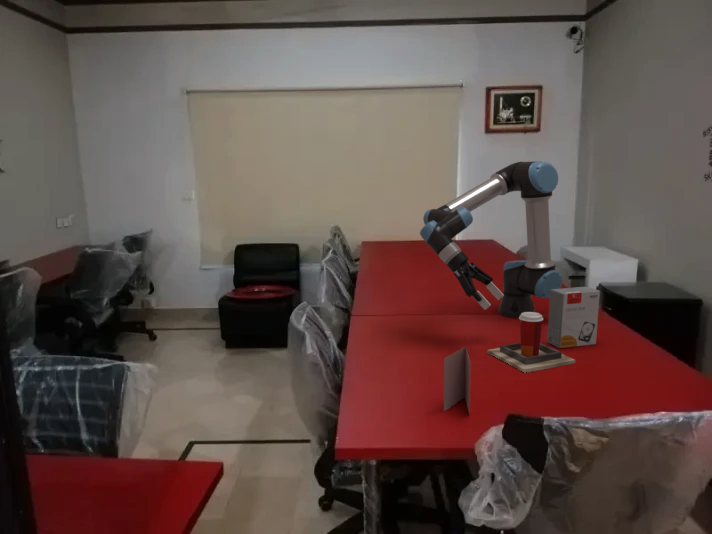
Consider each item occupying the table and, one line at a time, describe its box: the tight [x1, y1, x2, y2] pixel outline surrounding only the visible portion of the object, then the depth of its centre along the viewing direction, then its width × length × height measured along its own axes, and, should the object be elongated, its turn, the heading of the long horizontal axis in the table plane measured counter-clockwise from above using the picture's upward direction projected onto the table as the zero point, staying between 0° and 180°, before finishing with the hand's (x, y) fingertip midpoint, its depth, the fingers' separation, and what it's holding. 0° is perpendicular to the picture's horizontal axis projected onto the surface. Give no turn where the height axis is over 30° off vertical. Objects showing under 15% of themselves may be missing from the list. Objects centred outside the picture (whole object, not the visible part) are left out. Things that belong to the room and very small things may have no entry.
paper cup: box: [518, 311, 544, 357], centre depth 185 cm, size 8×8×14 cm
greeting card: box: [443, 346, 471, 416], centre depth 150 cm, size 11×7×15 cm, turn 141°
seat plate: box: [487, 341, 576, 374], centre depth 186 cm, size 20×20×3 cm
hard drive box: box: [546, 286, 601, 349], centre depth 198 cm, size 16×8×20 cm, turn 105°
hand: (494, 302), depth 194 cm, fingers open, 13 cm apart
